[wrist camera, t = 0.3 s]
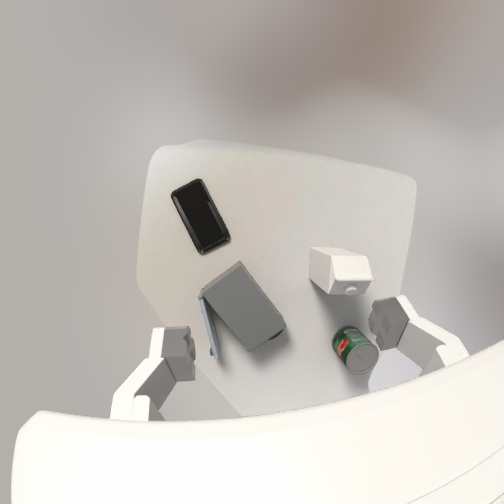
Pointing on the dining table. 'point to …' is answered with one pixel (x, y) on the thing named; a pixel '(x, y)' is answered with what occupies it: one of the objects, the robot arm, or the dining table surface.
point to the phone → (200, 215)
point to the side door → (209, 326)
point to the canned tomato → (355, 350)
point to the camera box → (244, 306)
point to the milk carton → (339, 271)
